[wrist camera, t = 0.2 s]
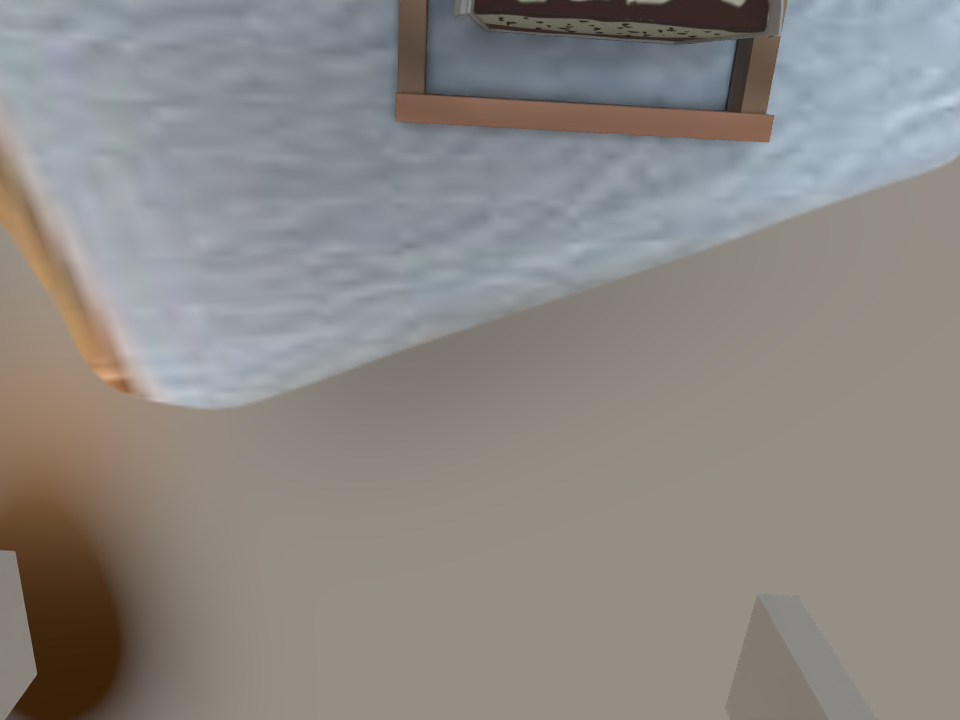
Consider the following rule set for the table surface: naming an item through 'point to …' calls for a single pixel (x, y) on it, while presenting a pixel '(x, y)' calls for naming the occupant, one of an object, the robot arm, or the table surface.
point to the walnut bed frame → (734, 124)
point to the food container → (630, 19)
